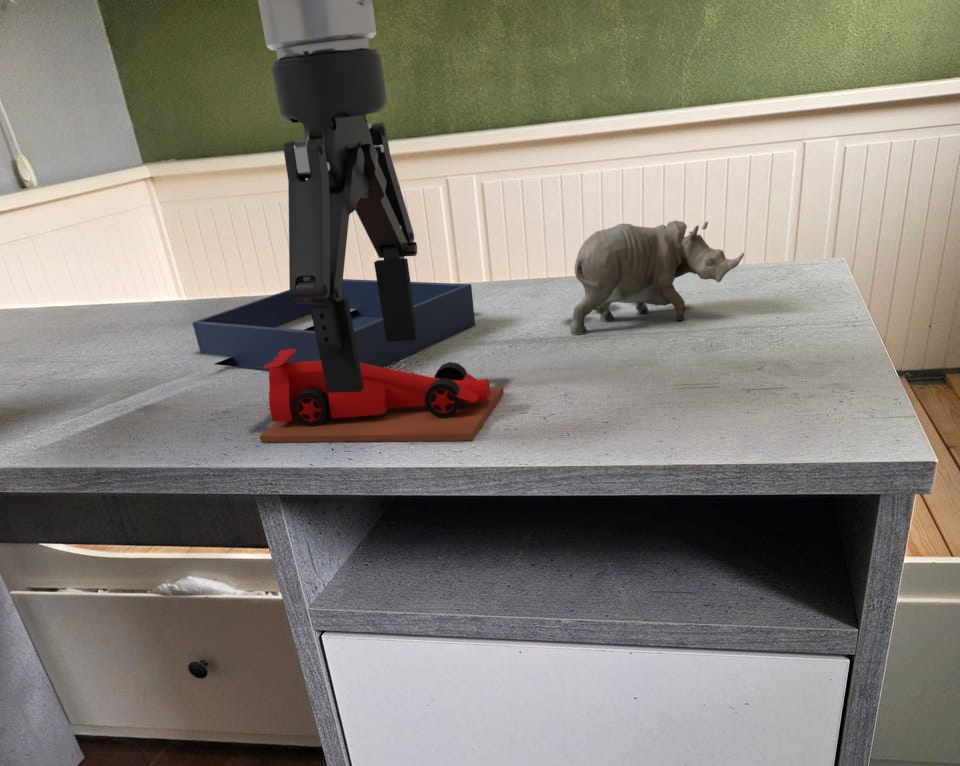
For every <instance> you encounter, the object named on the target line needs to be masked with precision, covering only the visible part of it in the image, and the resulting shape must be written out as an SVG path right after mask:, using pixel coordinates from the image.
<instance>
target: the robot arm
mask: <svg viewBox="0 0 960 766" xmlns="http://www.w3.org/2000/svg"><path fill="white" fill-rule="evenodd" d="M257 3H258V9H259V14H260V20H261V25H262V31H263V35H264V41H265V46H266V48H267V49H268V50H270V51H276V57H277V60H274V61H273V62H272V64H273V66H271V68H270V69H271V73H272V74H271V75H272V78H273V83H274V89H275V95H276V100H277V104H278V109H279V115H280V117H281V118H282V120H283V121H284V122H286V123H290V124H294V123H301V124H302V125H303V130H304V131H303V136H304V139H302V140H292V141H286V142H284V144H283V155H284V161H285V169H286V174H287V175H286V176H287V181H288V182H287V183H288V185H287V187H288V189H287V190H288V258H289V259H288V269H289V272H288V273H289V274H288V275H289V290H290V295H291V297H292V299H293V300H294V302H295V303H296V304H310V309H311V314H310V315H311V318H312V324H313V326H314V329H315V334H316V339H317V344H318V349H319V354H320V359H321V364H322V369H323V374H324V379H325V384H326V389H327V393H334V392H361V391H362V390H363V389H364V386H363V380H362V374H361V368H360V363H359V357H358V351H357V346H356V340H355V334H354V329H353V323H352V317H351V309H350V306H349V300H348V298H344V299H341V293H342V283H343V279H344V273H345V272H344V271H345V262H346V261H345V260H346V252H347V241H348V233H349V232H348V231H349V222H350V221H349V220H350V215H351V214H352V213H353V212H355V213H356V215H357V216H358V219H359V221H360V223H361V225H362V226H363V228H364V230H365V233H366V234H367V236H368V238H369V241H370V242H371V244H372V246H373V248H374V250H375V252H376V255H377V256H378V258H379V260H378V259H377V260H375V261H373V264H374V271H375V277H376V280H377V284H378V291H379V297H380V303H381V310H382V316H383V322H384V329H385V335H386V341H411V340H416V339H418V333H417V325H416V318H415V311H414V304H413V296H412V289H411V282H412V281H411V276H410V267H409V261H408V258H406V257H416V256H417V255H418V245H417V242H416V241H415V232H414V230H413V226H412V223H411V220H410V217H409V213H408V209H407V207H406V203H405V199H404V196H403V193H402V189H401V186H400V183H399V179H398V175H397V172H396V169H395V165H394V161H393V159H392V155H391V153H390V152H391V151H390V145H389V139H388V134H387V128H386V125H385V123H384V122H375V123H369V122H368V120H367V115H370V114H376V113H380V112H382V111H383V110H385V109H386V107H387V103H388V99H387V93H386V85H385V78H384V71H383V63H382V56H381V53H378V50H377V49H376V48H371V47H370V40H371V39H374V38H375V37H376V35H377V25H376V19H375V18H376V17H375V11H374V5H373V0H257Z"/></svg>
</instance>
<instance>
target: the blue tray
mask: <svg viewBox="0 0 960 766" xmlns="http://www.w3.org/2000/svg"><path fill="white" fill-rule="evenodd" d="M410 282H411V289H412V296H413V304H414V311H415V318H416V325H417V333H418V339H416V340H411V341H386V335H385V329H384V322H383V316H382V310H381V303H380V297H379V291H378V284H377V279H376V280H375V279H351V278H346V279H345V278H343V283H342V293H341V299H344V298H348V300H349V306H350V312H351V317H352V323H353V329H354V334H355V340H356V346H357V351H358V357H359V363H364V364H369V365H374V366H379V367H384V368H387V367H388V366H390V365H392V364H394V363H396V362H399V361H400V360H403V359H405V358H407V357H409V356H411V355H414V354H416V353H418V352H420V351H422V350H424V349H426V348H429V347H431V346H434V345H435V344H438V343H439V342H442V341H444V340H447V339H448V338H450V337H453V336H455V335H457V334H459V333H461V332H463V331H465V330H468V329H470V328H472V327H475V326H476V317H475V307H474V298H473V289H472V284H471V283H451V282H425V281H410ZM309 315H312V314H311V309H310V304H296V303H295V302H294V300H293V299H292V297H291V295H290V289H287V290H284V291H281V292H278V293H275V294H272V295H269V296H266V297H263V298H260V299H257V300H254V301H251V302H248V303H245V304H242V305H239V306H235V307H234V308H231V309H227V310H224V311H221V312H219V313H216V314H212V315H209V316H207V317H204V318H200V319H197V320H195V321H192V322H191V323H192V327H193V331H194V334H195V338H196V341H197V345H198V349H199V352H200V354H204V355H212V356H213V355H214V356H222V357H228V358H226V359H223V360H221V361H218V362H215V363H214V365H219V366H225V367H226V366H227V367H234V368H240V369H241V368H242V369H250V370H259V371H267V372H269V371H270V369H264V366H265V365H266V364H268V363H270V362H272V361H274V358H275V357H277V356H279V355H278V353H279V352H280V351H281V350H289V349H295V350H296V353H295V354H294V355H293V356H292V357H291V358H290V359H289V360H288V361H287V363H294V362H308V361H321V359H320V354H319V349H318V344H317V339H316V334H315V329H314V325H311V326H309V327H306V328H304V329H295V328H283V327H279V326H282V325H285V324H288V323H291V322H293V321H296V320H298V319H301V318H304V317H307V316H309Z"/></svg>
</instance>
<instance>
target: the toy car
mask: <svg viewBox="0 0 960 766" xmlns="http://www.w3.org/2000/svg"><path fill="white" fill-rule="evenodd" d="M295 353H296V350H295V349H289V350H281V351H280V352H279V353H278V355H279V356H277V357H275V358H274V361H272V362H270V363H268V364H266V365H265V366H264V369H270V371H268V382H269V389H268V405H269V411H270V417H271V420H272V423H275V422H279V421H292V420H293V419H294V418H295V417H296V418H297V419H298V421H299V422H301V423H303V424H305V425H306V426H317V425H319V424H321V423H322V422H323V421H324V420H325V418H326V417H327V416H328V414H329V412H331V416H332V418H342V417H357V416H369V415H378V414H385V412H386V411H387V409H388V408H397V407H412V406H426V407H427V409H428V411H429V412H430V413H431V414H432V415H434V416H436V417H438V418H448V417H450V416H452V415H454V414H455V412H456V411H457V410H458V408H459V405H460V403H467V402H470V403H475V402H483V401H488V399H489V396H490V387H491V386H490V380H489V379H487V378H486V379H477V378H476V377H474V376H473V375H471V374H469V373H468V372H467V370H466V369H465V367H464V366H462V365H461V364H460V363H457V362H452V361H448V362H446V363H443V364H441V366H440V367H438V369H437V370H436V372H435V373H434V377H433V376H428V375H422V374H418V373H413V372H409V371H408V372H407V371H403V370H397V369H393V368H388V367H379V366H374V365H369V364H364V363H360V368H361V374H362V380H363V386H364V389H363V390H362V391H361V392H334V393H327V389H326V384H325V379H324V374H323V369H322V364H321V361H308V362H294V363H287V361H288V360H289V359H290V358H291V357H292V356H293V355H294V354H295Z"/></svg>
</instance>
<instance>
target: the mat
mask: <svg viewBox="0 0 960 766" xmlns="http://www.w3.org/2000/svg"><path fill="white" fill-rule="evenodd" d="M504 391H505V390H504V386H490V396H489V399H488V401H483V402H475V403H470V402H467V403H460V405H459V408H458V410H457V411H456V412H455V414H454V415H452V416H450V417H448V418H438V417H436V416H434V415H432V414H431V413H430V412H429V411H428V409H427V407H426V406H412V407H397V408H388V409H387V411H386V412H385V414H378V415H369V416H357V417H342V418H332V416H331V412H329V414H328V416H327V417H326V418H325V420H324V421H323V422H322V423H321V424H319V425H317V426H306V425H305V424H303V423H301V422H299V421H298V419H297V418H296V417H295V418H294V419H293V420H292V421H279V422H273V424H271V426H269V427H268V428H266V430H265V431H263V432H262V433H261V434H259V440H260V443H341V442H342V443H350V442H353V443H355V442H356V443H357V442H361V443H362V442H367V443H368V442H463V441H464V442H467V441H468V442H471V441H473V440H474V438H475V437H476V435H477V434H478V433H479V431H480V429H481V428H482V426H483V425H484V424H485V422H486V420H487V419H488V418H489V416H490V415H491V413H492V411H493V410H494V409H495V407H496V406H497V404H498V402H499V401H500V400H501V398H502V396H503V395H504Z"/></svg>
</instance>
